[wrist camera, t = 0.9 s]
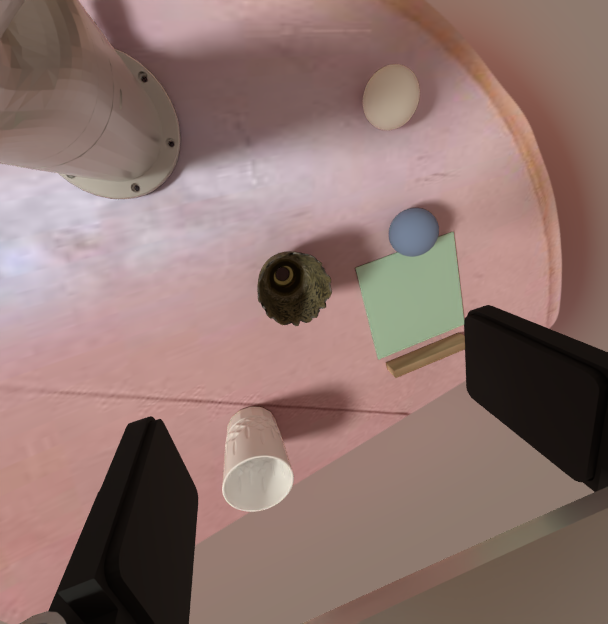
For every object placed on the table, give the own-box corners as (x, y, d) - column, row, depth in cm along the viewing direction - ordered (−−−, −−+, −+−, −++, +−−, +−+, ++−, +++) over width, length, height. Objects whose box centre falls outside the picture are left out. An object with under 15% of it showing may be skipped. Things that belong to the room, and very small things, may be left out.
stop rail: (385, 362, 47) (394, 370, 44) (458, 332, 48) (470, 339, 46) (387, 369, 47) (395, 378, 45) (459, 339, 48) (471, 346, 46)
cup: (321, 285, 40) (343, 304, 33) (270, 313, 40) (280, 339, 33) (295, 231, 38) (313, 239, 30) (240, 261, 37) (243, 276, 30)
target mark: (355, 267, 41) (355, 268, 41) (452, 231, 42) (453, 231, 42) (377, 358, 46) (378, 359, 46) (463, 323, 48) (464, 324, 47)
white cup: (284, 403, 45) (300, 456, 36) (274, 450, 47) (285, 510, 38) (227, 400, 43) (228, 455, 34) (218, 449, 45) (217, 513, 36)
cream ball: (349, 84, 34) (371, 63, 29) (396, 69, 35) (426, 46, 29) (361, 141, 36) (383, 131, 31) (405, 126, 37) (435, 114, 31)
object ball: (376, 215, 39) (399, 218, 34) (417, 201, 40) (446, 201, 35) (385, 259, 41) (408, 267, 36) (424, 244, 42) (452, 250, 37)
